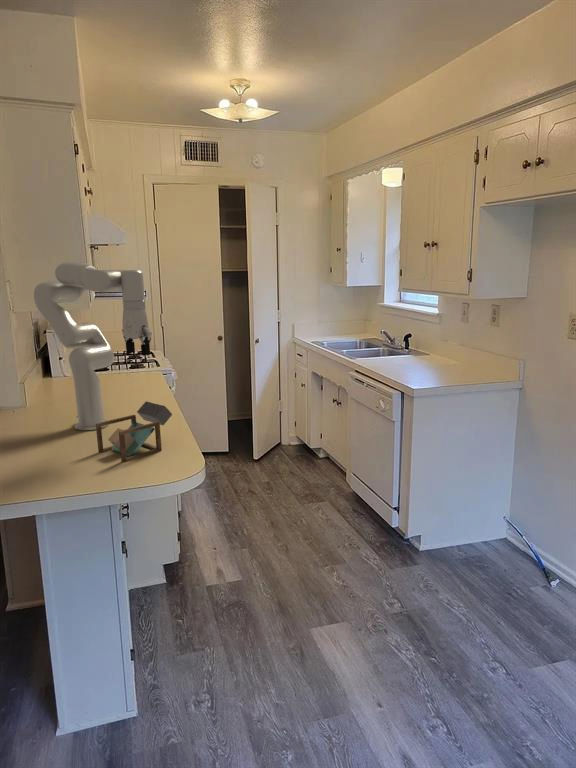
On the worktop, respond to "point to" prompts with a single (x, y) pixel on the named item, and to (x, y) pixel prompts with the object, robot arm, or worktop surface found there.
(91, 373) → the robot arm
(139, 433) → the chair seat and backrest
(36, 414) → the worktop surface
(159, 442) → the frame
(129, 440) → the pinkish beige cube
